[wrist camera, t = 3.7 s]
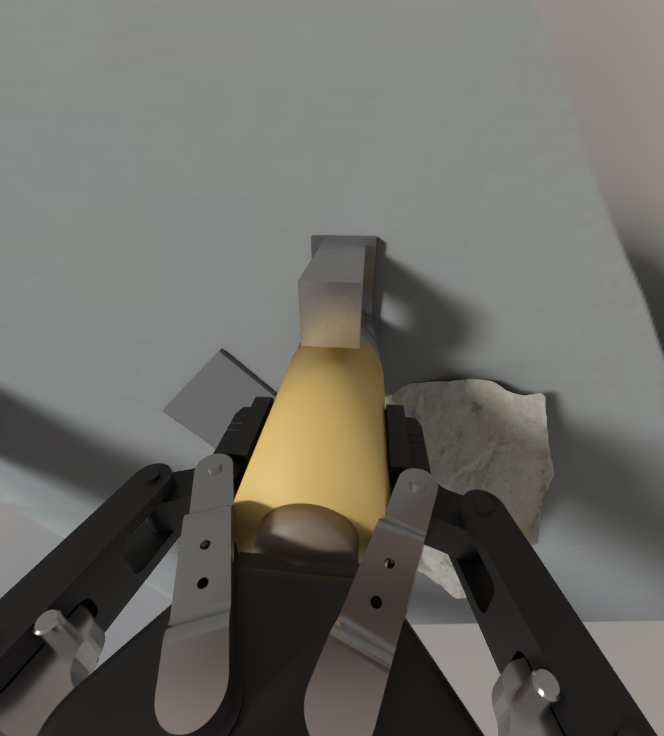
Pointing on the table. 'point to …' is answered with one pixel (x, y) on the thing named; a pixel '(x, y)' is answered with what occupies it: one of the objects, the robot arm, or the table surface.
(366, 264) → the grey metal frame
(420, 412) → the rock
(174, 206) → the table surface
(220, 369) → the mat
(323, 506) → the yellow cylinder
